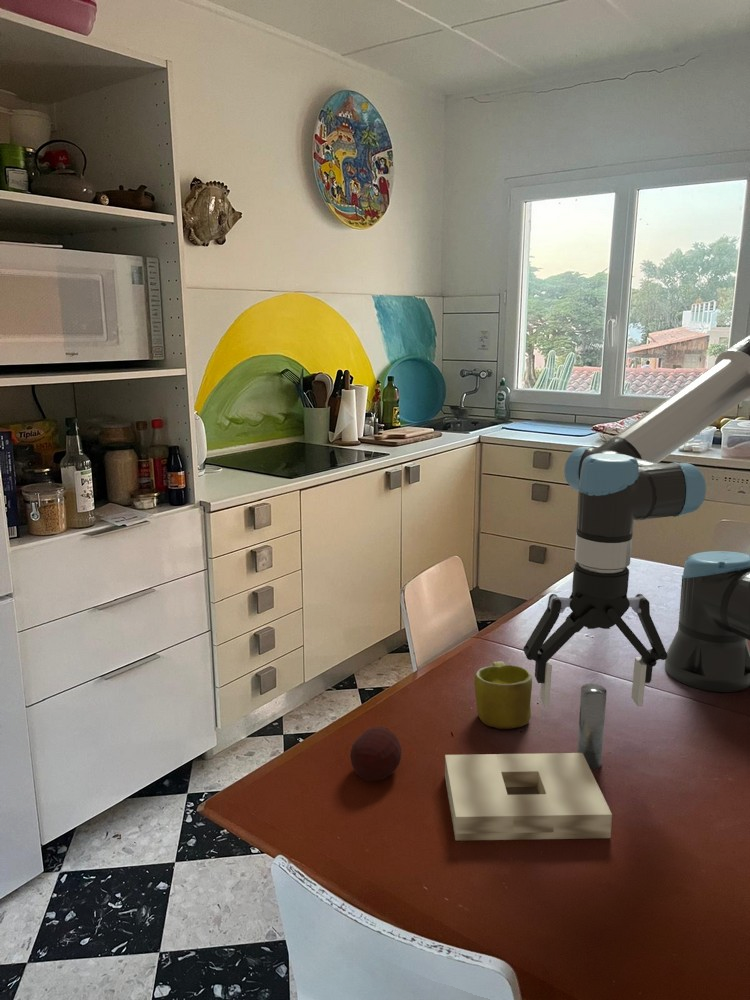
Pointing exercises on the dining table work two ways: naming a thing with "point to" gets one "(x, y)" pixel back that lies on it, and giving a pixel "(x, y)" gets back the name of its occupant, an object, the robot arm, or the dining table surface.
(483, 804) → the block
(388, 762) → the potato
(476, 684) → the mug
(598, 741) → the pin
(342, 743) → the dining table surface
